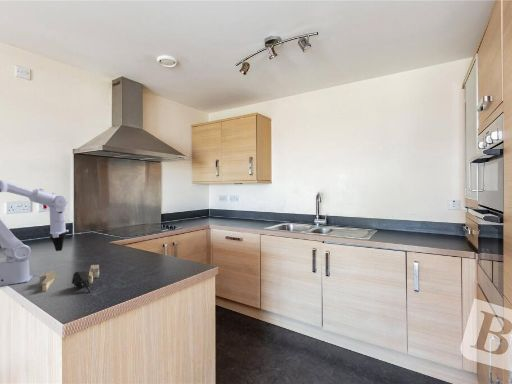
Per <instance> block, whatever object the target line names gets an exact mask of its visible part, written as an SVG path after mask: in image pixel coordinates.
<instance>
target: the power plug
mask: <svg viewBox="0 0 512 384" xmlns="http://www.w3.org/2000/svg"><path fill="white" fill-rule="evenodd" d="M89 279H90V276H89V272H88V271H87V270H84V269H83V270H82V269H81V270H78V271H75V272H74V273H73V274H72V279H71V283H72V285H73V286H74V287H75V288H77V287H78V288H80V287H84V288H85V289H87V293H92V291H91V289H90V285H91V284H90V283H89Z"/></svg>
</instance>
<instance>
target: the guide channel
mask: <svg viewBox="0 0 512 384" xmlns="http://www.w3.org/2000/svg"><path fill="white" fill-rule="evenodd" d="M89 268H90V269H89V272H88V274H89V276H90V279H89V283H90V285H91V284H93V281H94V279H96V278H97V279H98V278H100V264H91V265H90V267H89ZM55 278H56V270H55V269H53V270H50V271H43V272H42V273H41V274H40V276H39V286H40V288H41V287H42V288H41V290H42V293H43V292H47V291H48V289H49V288H50V287H51V285H52V283H53V281H54V280H55Z"/></svg>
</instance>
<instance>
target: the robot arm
mask: <svg viewBox="0 0 512 384" xmlns="http://www.w3.org/2000/svg"><path fill="white" fill-rule="evenodd" d="M5 192H6V193H10V194H15V195H18V196H22V197H26V198H28V199H29V201H30V202H33V203H36V204H39V205H44V206H47V207H49V228H50V231H49V234H50V236H49V239H50V240H51V242H52V243H53V245H54V250H55V252H61V251H62V250H63V247H64V241H65V238H66V236H67V233H69V231H70V230H69V229H66V206H67V205H68V201H67V199H66V198H65V197H64V196H63V195H56V193H54V192H52V193H51V192H48V191H45V190H44V189H42V188H39V189H38V188H36V189H33V190H31V189H29V188H25V187H22V186H20V185H17V184H14V183H11V182H8V181H4V180H0V193H5ZM0 247H1V248H2V252H3V255H4V256H5V257H6V258H5V260H4V261H0V287H1V286H10V285H14V284H23V283H28V282H29V281H30V280H31V279H32V278H33V276H34V275H31V274H30V259H29V257H30V255H31V252H32V249H31V247H30V246H29V245H26V244H24V243H23V242H22V241H21V240H20V238H19V239H18V238H17V237H16V236H15V235H14V233H12V231H11V230H10V229H9V227H8V226H7V225H6V224H5V223H4V222H3V220H2V219H1V218H0Z"/></svg>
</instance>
